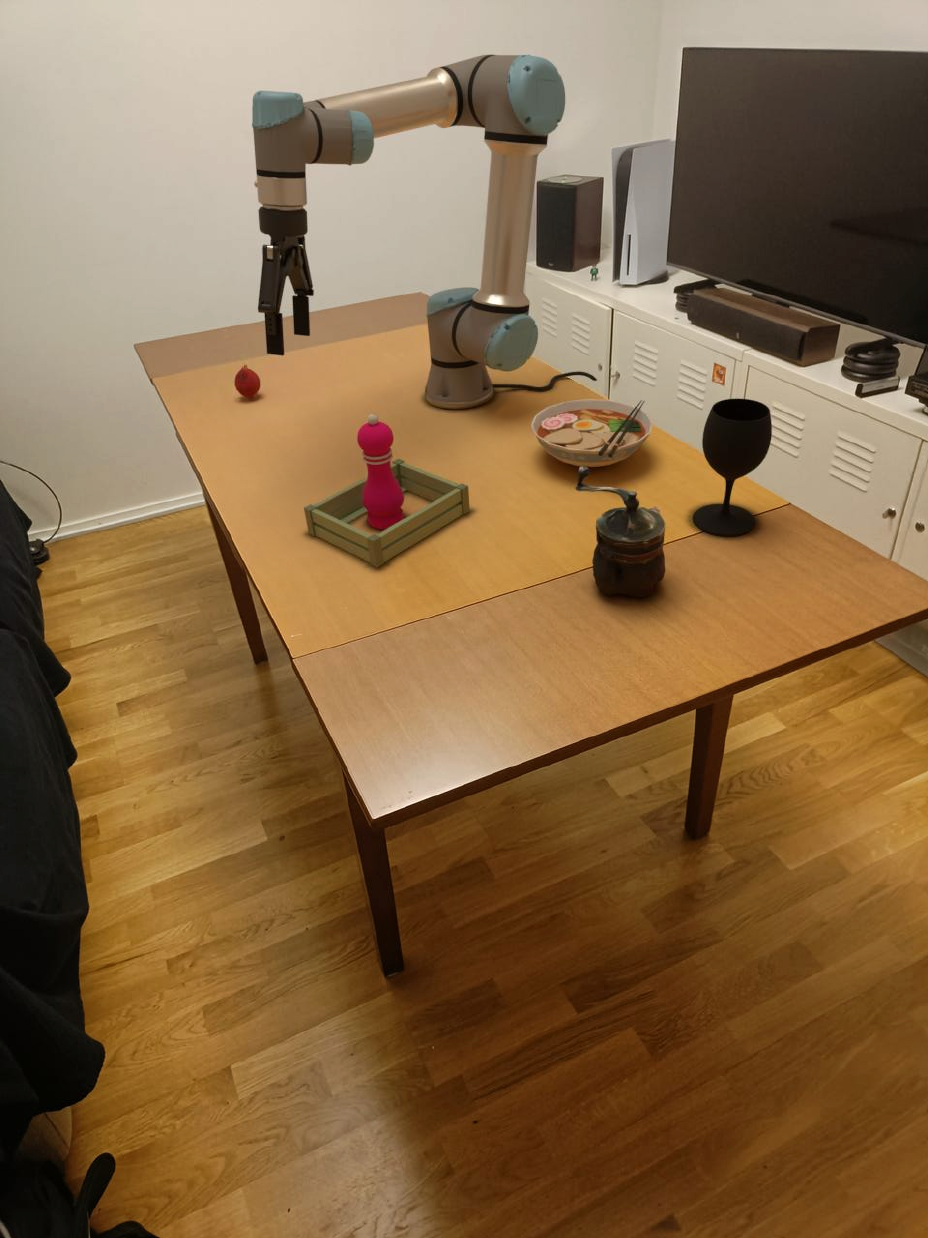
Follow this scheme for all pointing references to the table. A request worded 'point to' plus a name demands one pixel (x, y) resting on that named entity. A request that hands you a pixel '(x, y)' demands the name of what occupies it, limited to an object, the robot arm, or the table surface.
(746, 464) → the wine glass
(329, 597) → the table surface
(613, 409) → the ramen bowl
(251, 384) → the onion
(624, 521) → the coffee grinder
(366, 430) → the pepper mill
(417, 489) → the crate
